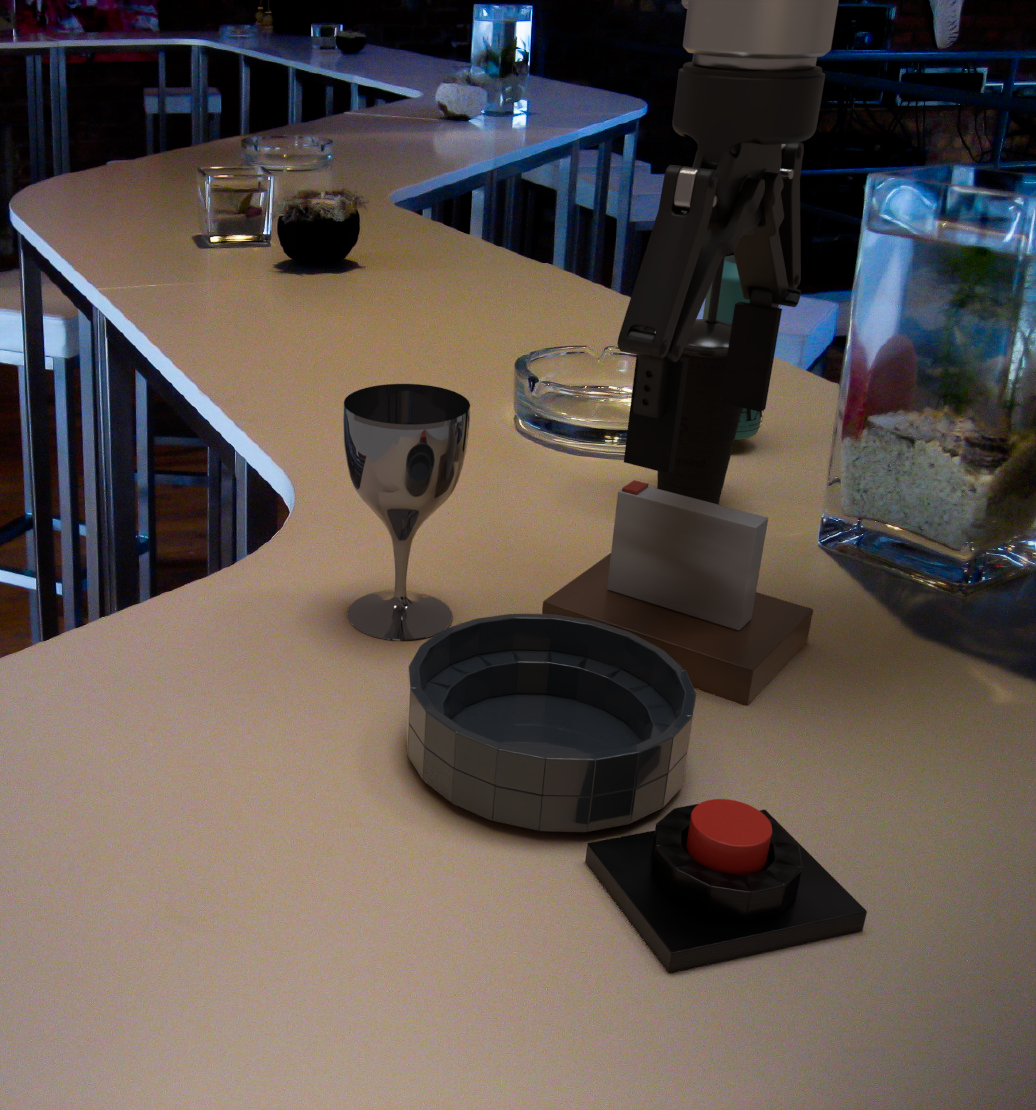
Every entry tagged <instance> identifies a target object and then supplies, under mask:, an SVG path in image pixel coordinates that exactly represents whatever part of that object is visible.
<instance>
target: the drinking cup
mask: <svg viewBox="0 0 1036 1110" xmlns="http://www.w3.org/2000/svg"><path fill="white" fill-rule="evenodd" d="M725 257H726V256H724V257H723V258H722V260H721V262H720V265H719V267H718V269H717V272H716V274H715V276H714V279H713V281H712V287H711V294H710V302H709V309H708V317H707V319H703V318H697V319H696V321H695V323H694V326H693V328H692V330H691V333H690V335H689V338H688V340H687V342H686V345H685V347H684V349H683V352H682V354H681V356H680V357H684V358H689V362H688V369H687V376H686V383H685V391H684V398H683V405H682V412H681V420H680V427H679V434H678V441H677V448H676V456H675V463H674V470H672V471H671V472H669V473H668V474H667V473H663V472H660V471H657V475H656V476H657V479H656V480H657V482H656V483H657V484H656V485H657V486H656V489H660V490H664V491H667V492H671V493H675V494H679V495H683V496H687V497H691V498H694V499H698V500H702V501H706V502H710V503H714V504H718V505H720V502H721V501H720V500H721V496H722V492H723V488H724V484H725V480H726V475H727V471H728V469H729V468H728V467H729V464H730V460H731V456H732V451H733V447H734V444H735V436H736V432H737V428H738V424H739V420H740V416H741V411H742V408H741V407H736V406H732V405H727V404H722V403H720V400H721V393H722V386H723V380H724V373H725V367H726V360H727V353H728V347H729V340H730V334H731V327H732V323H730V322H726V321H721V320H716V319H717V312H718V304H719V297H720V290H721V283H722V275H723V268H724V261H725Z"/></svg>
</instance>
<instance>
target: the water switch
mask: <svg viewBox="0 0 1036 1110" xmlns="http://www.w3.org/2000/svg"><path fill="white" fill-rule="evenodd" d="M698 804H699V803H695V804H689V805H685V806H679V807H674V808H673V809H672V810H670V811H669V812H668V813H667V814H666V815H665V816H664V817H662V818H661V819H660V820H659V821H657V822H656V823H655V828H654V830H649V831H648V830H647V831H644V832H638V833H632V834H629V835H623V836H618V837H613V838H612V837H611V838H608V839H602V840H596V841H592V842H587V843H586V850H585V851H586V852H585V861H584V863H585V864H586V866H587V867H588V868H589V870H590V871H591V872H592V873H593V875H594V876H595V878H596V879H597V880H598V881H599V883H600V884H601V885H602V887H603V888H604V889H605V891H606V892H607V893H608V895H609V896H610V897H611V899H612V900H613V902H614V903H615V904H616V906H617V907H618V908H619V909H620V911H621V913H623V916H625V917H626V919H627V921H629V923H630V925H631V926H632V927H633V928H634V930H635V931H636V932H637V934H638V935H639V937H640V938H641V939H642V940H643V941H644V943H645V944H646V945H647V947H648V948H649V949H650V951H651V952H652V953H653V955H654V956H655V958H656V959H657V960H658V961H659V963H660V964H661V966H662V967H663V968H664V969H665V971H666V973H668V974H669V975H670V974H675V973H679V972H684V971H688V970H692V969H698V968H702V967H705V966H710V965H715V964H719V963H724V962H728V961H733V960H739V959H743V958H748V957H752V956H756V955H761V954H765V953H769V952H770V953H771V952H773V951H779V950H783V949H788V948H792V947H796V946H797V947H798V946H802V945H806V944H811V943H814V942H815V943H816V942H820V941H823V940H828V939H834V938H838V937H842V936H847V935H851V934H856V933H860V932H863V931H864V926H865V923H866V918H867V914H868V910H867V909H865V907H864V906H863V905H861V903H859V901H858V900H856V898H855V897H853V896H852V895H851V893H850V892H848V890H847V889H846V888H845V887H843V885H842V884H841V883H840V882H839V881H837V880H836V878H835V877H833V875H831V874H830V873H829V871H827V869H825V868H824V866H822V864H820V863H819V862H818V861H817V860H816V859H815V858H814V856H813V855H812V854H811V853H810V852H808V850H806V848H804V847H803V846H802V844H801V843H800V842H798V840H796V838H795V837H793V836H792V835H791V834H790V832H789V831H788V830H786V829H785V827H783V825H782V824H780V823H779V821H777V820H776V818H774V817H773V816H772V814H770V813H769V812H768V811H767V810H766V809H760V810H759V809H758V810H759V811H760V812H762V813H763V814H764V815H765V816H766V817H767V818H768V820H769V821H770V823H771V826H772V835H771V841H770V846H769V851H768V856H767V861H766V864H765V866H764V867H763V869H762V870H760V871H759V872H755V873H750V874H745V875H737V874H730V873H724V872H717V871H715V870H713V869H711V868H709V867H707V866H705V865H703V864H701V863H698V862H696V861H694V860H693V859H692V857H691V856H690V854H689V853H688V850H687V838H688V832H689V825H690V819H691V813H692V811H693V809H694V808H695V807H696V806H697V805H698Z"/></svg>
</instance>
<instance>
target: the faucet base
mask: <svg viewBox="0 0 1036 1110" xmlns="http://www.w3.org/2000/svg"><path fill="white" fill-rule="evenodd" d="M610 558H611V552H610V553H609V554H607V555H606V556H604V557H603V558H602V559H600V560H599V561H597V562H596V563H595V564H593V565H592V566H590V567H589V568H587V569H586V570H585V571H584V572H581V573H580V574H579V575H577V576H576V577H575V578H573V579H572V580H571V581H569V582H568V583H567V584H565V585H564V586H562V587H561V588H560V589H558V590H557V591H555V592H554V593H552V594H551V595H550V596H548V597H547V598H545V599H544V600H543V601H542V608H541V609H542V611H541V614H555V615H561V616H567V617H574V618H580V619H586V620H592V621H597V622H600V623H603V624H606V625H609V626H612V627H615V628H618V629H622V630H625V631H628V632H631V633H633V634H635V635H636V636H638V637H640V638H642V639H644V640H646V641H648V642H649V643H651V644H653V645H655V646H657V647H659V648H661V649H662V650H664V651H665V652H666V653H667V654H668V655H669V656H671V657H672V658H673V659H674V660H675V661H676V662H677V663H678V664H679V665H680V666H681V667H682V668H684V669H685V671H686V672H687V674H688V676H689V679H690V681H691V683H692V685H693V688H694V689H696V690H699V691H701V692H702V691H703V692H705V693H708V692H709V694H711V695H714V694H715V695H714V696H717V697H718V698H719V697H720V698H723V699H725V700H727V701H731V702H734V703H737V704H740V705H743V706H746V707H747V706H749V704H751V702H752V701H753V700H754V699H756V697H757V696H758V695H759V694H761V692H762V691H763V689H765V688H766V687H767V686H768V684H770V683H771V682H772V680H773V679H774V678H775V677H776V676H777V675H778V674H779V673H780V672H781V671H782V670H783V669H784V668H785V667H786V665H788V663H789V662H790V661H792V659H793V658H794V657H795V656H796V655H797V654H798V653H799V652H800V651H801V649H803V647H804V646H805V645H806V644H807V643H808V640H809V635H810V631H811V624H812V620H813V616H814V615H813V614H814V608H811V607H808V606H805V605H802V604H798V603H795V602H791V601H789V600H786V599H781V598H778V597H774V596H771V595H767V594H764V593H760V592H758V591H756V595H755V601H754V607H753V613H752V619H751V620H750V621H749V622H748V623H747V624H746V625H745V626H744V627H742V628H741V629H740V630H739V631H738V630H735V629H732V628H729V627H726V626H722V625H719V624H716V623H713V622H710V621H706V620H703V619H700V618H697V617H694V616H690V615H687V614H684V613H681V612H678V611H675V610H671V609H668V608H665V607H662V606H659V605H655V604H652V603H649V602H646V601H643V600H639V599H636V598H633V597H630V596H627V595H623V594H620V593H617V592H614V591H611V590H608V589H607V585H608V576H609V567H610ZM780 670H781V671H780Z"/></svg>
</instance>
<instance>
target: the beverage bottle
mask: <svg viewBox="0 0 1036 1110" xmlns="http://www.w3.org/2000/svg"><path fill="white" fill-rule="evenodd" d="M711 287H712V284H711V286H710V288H709V291H708V293H707V295H706V298H705V300H704V306H703V313H702V319H707V317H708V309H709V302H710V294H711ZM738 302H746V303H749V302H750V300H748V299H744V297H743V293H742V289H741V284H740V280H739V275H738V271H737V266H736V261H735V257H734V254H732V255H731V254H730V255H726V256H725V261H724V268H723V275H722V283H721V290H720V297H719V304H718V312H717V319H716V320H721V321H726V322H730V323H732V320H733V314H734V307H735V304H736V303H738ZM778 308H781V306H780V305H778ZM763 413H765V409H764V410H763V411H761V412H759V411H755V410H750V409H745V408H742V411H741V416H740V420H739V424H738V428H737V432H736V436H735V440H736V441H737V440H745V439H749V438H752V437H754V436H756V435H757V433H758V431H759V430H760V428H761V427H762V425H761V423H762V419H764V415H763ZM735 440H734V441H735Z"/></svg>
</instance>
